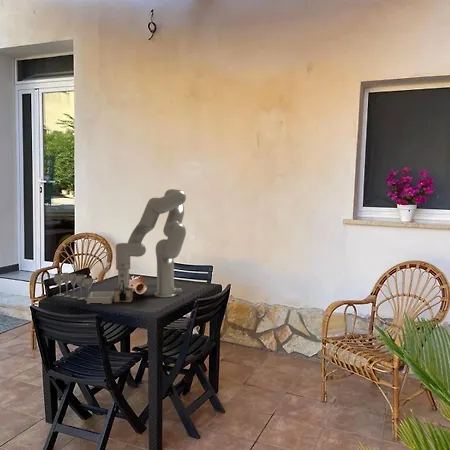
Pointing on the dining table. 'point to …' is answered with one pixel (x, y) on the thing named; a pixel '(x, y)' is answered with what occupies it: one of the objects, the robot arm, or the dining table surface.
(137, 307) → the dining table surface
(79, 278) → the goblet set
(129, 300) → the small crate
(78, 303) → the dining table surface
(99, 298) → the grey square tray
